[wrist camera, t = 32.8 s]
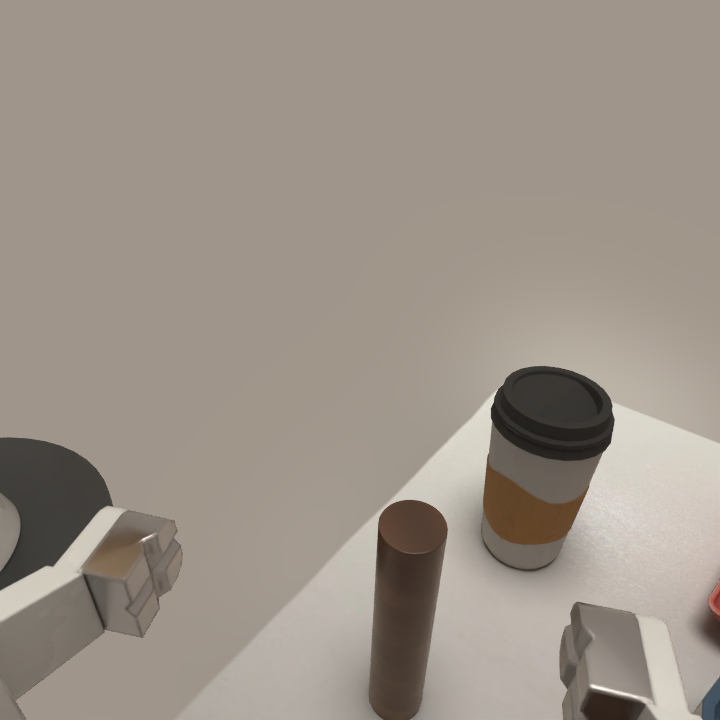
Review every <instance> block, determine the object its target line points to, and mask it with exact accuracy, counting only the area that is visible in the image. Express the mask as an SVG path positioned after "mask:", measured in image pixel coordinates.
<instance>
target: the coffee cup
mask: <svg viewBox="0 0 720 720" xmlns="http://www.w3.org/2000/svg"><path fill="white" fill-rule="evenodd" d="M491 419H492V430H491V440H490V449H489V454H488V457H487V467H486V477H485V487H484V497H483V517H482V535H483V539H484V541H485V543H486V545H487V547H488V548H489V550H490V551H491V553H492V554H493V555H494V556H495V557H496V558H497V559H499V560H500V561H502V562H504V563H505V564H507V565H509V566H512V567H515V568H519V569H525V570H528V569H537V568H540V567H543V566H545V565H547V564H549V563H550V562H551V561H553V560H554V559H555V558H556V556H557V555H558V553H559V551H560V549H561V547H562V545H563V542H564V540H565V538H566V535H567V533H568V531H569V530H570V529H571V527H572V524H573V522H574V520H575V518H576V515H577V513H578V511H579V509H580V506H581V504H582V502H583V500H584V497H585V495H586V493H587V491H588V488H589V484H590V481H591V479H592V476H593V474H594V472H595V469H596V467H597V465H598V463H599V460H600V458H601V456H602V453H603V452H604V451H605V450H606V449H607V447H608V446H609V444H610V443H611V438H612V432H613V427H614V420H615V419H614V416H613V413H612V403H611V400H610V397H609V396H608V394H607V393H606V392H605V391H604V389H603V388H601V387H600V386H599V385H598V384H597V383H595V382H594V381H592V380H590V379H588V378H587V377H585V376H583V375H580V374H578V373H575V372H573V371H569V370H565V369H561V368H555V367H548V366H534V367H528V368H523V369H520V370H517V371H515V372H513V373H512V374H510V375H509V376H508V377H507V378H506V380H505V382H504V384H503V385H502V386H501V387H500V388H499V389H498V391H497V393H496V395H495V398H494V403H493V405H492V407H491Z"/></svg>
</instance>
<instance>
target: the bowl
mask: <svg viewBox="0 0 720 720" xmlns="http://www.w3.org/2000/svg"><path fill="white" fill-rule="evenodd" d="M693 714H694V715H698V716H700V717H701V718H702V719H703V720H720V677H719V678H718V679H717V681H716V682H715V683H714V685H713V686H712V688H711V689H710V690H709V692H708V693H707V694H706V696H705V697H704V698H703V700H702V701H701V703H700V704H699V706H698V707H697V708H696V710H695V711H694V713H693Z"/></svg>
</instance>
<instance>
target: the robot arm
mask: <svg viewBox="0 0 720 720" xmlns="http://www.w3.org/2000/svg"><path fill="white" fill-rule="evenodd" d="M20 526H21V523H20V516H19V513H18V511H17V509H16V507H15V506H14V504H13V503H12V502H11V501H10V500H9V499H7V498H6V497H5V496H4V495H3V494H1V493H0V572H1V570H2V569H3V568H4V566H5V565H6V563H7V562H8V560H9V559H10V557H11V555H12V553H13V551H14V549H15V547H16V545H17V542H18V539H19V535H20ZM176 533H177V527H176V524H175V521H174V520H169V519H165V518H161V517H156V516H152V515H148V514H143V513H139V512H134V511H130V510H126V509H120V508H116V507H112V506H106V507H104V508H103V509H101V510H100V511H99V512H98V513H97V514H96V515H95V516H94V518H93V519H92V520H91V521H90V523H89V524H88V525H87V526H86V527H85V529H84V530H83V531H82V532H81V533H80V535H79V536H78V537H77V538H76V540H75V541H74V542H73V543H72V544H71V546H70V547H69V548H68V549H67V551H66V552H65V553H64V554H63V555H62V557H61V558H60V559H59V560H58V561H57V563H56V564H55V565H54V566H53V567H51V566H45V567H43V568H42V569H40V570H38V571H36V572H34V573H32V574H30V575H28V576H27V577H25V578H23V579H21V580H19V581H17V582H15V583H13V584H12V585H10V586H8V587H6V588H4V589H2V590H0V720H26V718H25V716H24V714H23V713H22V711H21V709H20V708H19V706H18V705H17V703H16V700H17V699H18V698H19V697H21V696H22V695H23V694H25V693H26V692H27V691H28V690H30V689H31V688H32V687H34V686H35V685H36V684H38V683H39V682H40V681H42V680H43V679H44V678H45V677H47V676H48V675H49V674H51V673H52V672H53V671H55V670H56V669H57V668H59V667H60V666H61V665H63V664H64V663H65V662H66V661H68V660H69V659H70V658H72V657H73V656H74V655H76V654H77V653H78V652H79V651H81V650H82V649H83V648H85V647H86V646H87V645H89V644H90V643H91V642H93V641H94V640H95V639H97V638H98V637H99V636H100V635H102V634H103V633H104V632H105V631H104V630H109V631H113V632H118V633H123V634H128V635H132V636H136V637H141V638H143V636H144V635H145V633H146V631H147V629H148V628H149V626H150V624H151V623H152V621H153V619H154V618H155V616H156V614H157V612H158V611H159V609H160V608H159V599H158V598H159V597H160V596H162V595H163V594H165V593H166V592H168V591H170V590H171V588H172V587H173V585H174V583H175V581H176V579H177V578H178V575H179V571H180V568H181V565H182V554H183V553H182V549H181V545H180V544H179V543H178V542H177V541H176V540H175V539H174V536H175V535H176ZM570 614H571V625H568V626H566V627H565V629H564V632H563V635H562V639H561V646H560V679H561V681H562V682H563V684H564V685H565V686H566V688H567V689H568V690H567V693H566V695H565V698H564V700H563V703H562V709H563V720H703V719H702V718H701V717H700V716H698V715H694V714H691V713H690V710H689V706H688V702H687V698H686V694H685V691H684V687H683V683H682V679H681V675H680V671H679V667H678V663H677V659H676V656H675V652H674V648H673V644H672V640H671V636H670V632H669V628H668V625H667V624H666V622H665V621H664V620H663V619H660V618H655V617H650V616H645V615H639V614H634V613H632V612H628V611H623V610H618V609H613V608H607V607H602V606H597V605H591V604H586V603H581V602H576V603H575V604H574V605H573V607H572V610H571V613H570Z"/></svg>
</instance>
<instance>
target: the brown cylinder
mask: <svg viewBox="0 0 720 720" xmlns="http://www.w3.org/2000/svg"><path fill="white" fill-rule="evenodd" d="M447 531H448V529H447V523H446V521H445V519H444V517H443V516H442V514H441V513H440V512H439V511H438V510H437V509H436V508H434V507H433V506H431V505H429V504H427V503H424V502H421V501H416V500H404V501H399V502H396V503H393V504H391V505H390V506H388V507H387V508H386V509H385V510H384V511H383V512H382V514H381V516H380V518H379V523H378V541H377V559H376V576H375V594H374V612H373V630H372V648H371V665H370V683H369V699H370V703H371V705H372V707H373V709H374V710H375V712H376V713H377V714H378V715H379V716H380V717H382V718H383V719H385V720H409V719H410V718H412V717H413V716H414V715H415V714H416V713H417V711H418V710H419V707H420V705H421V700H422V694H423V687H424V681H425V674H426V668H427V661H428V655H429V649H430V642H431V636H432V629H433V623H434V616H435V610H436V603H437V597H438V590H439V584H440V578H441V571H442V565H443V558H444V552H445V545H446V539H447Z"/></svg>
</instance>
